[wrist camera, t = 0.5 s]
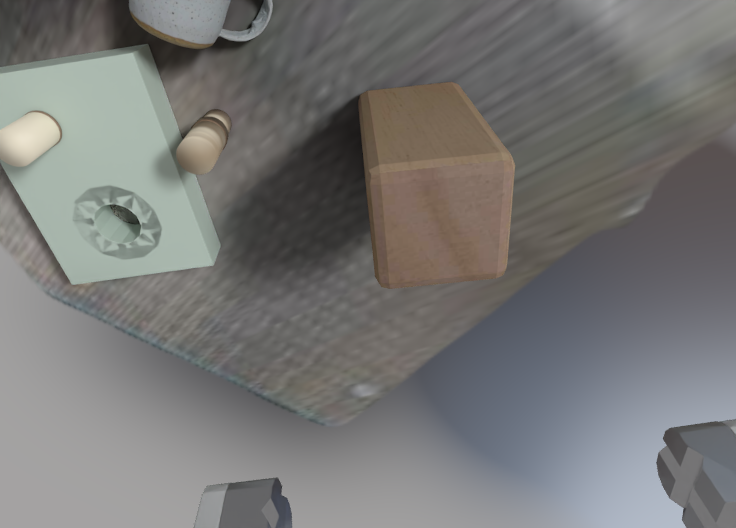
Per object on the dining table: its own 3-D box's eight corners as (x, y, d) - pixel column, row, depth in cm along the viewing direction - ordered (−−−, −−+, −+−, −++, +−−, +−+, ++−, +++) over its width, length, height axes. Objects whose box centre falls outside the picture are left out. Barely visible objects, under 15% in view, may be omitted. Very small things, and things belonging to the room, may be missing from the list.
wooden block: (366, 182, 54) (377, 295, 37) (356, 88, 48) (364, 172, 32) (458, 173, 54) (509, 282, 37) (459, 78, 48) (520, 156, 32)
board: (-20, 70, 46) (-91, 97, 38) (148, 43, 45) (109, 66, 38) (87, 264, 58) (50, 314, 51) (220, 245, 57) (202, 293, 50)
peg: (196, 108, 49) (169, 141, 41) (229, 103, 49) (208, 135, 41) (206, 141, 51) (183, 177, 43) (238, 136, 50) (220, 172, 43)
